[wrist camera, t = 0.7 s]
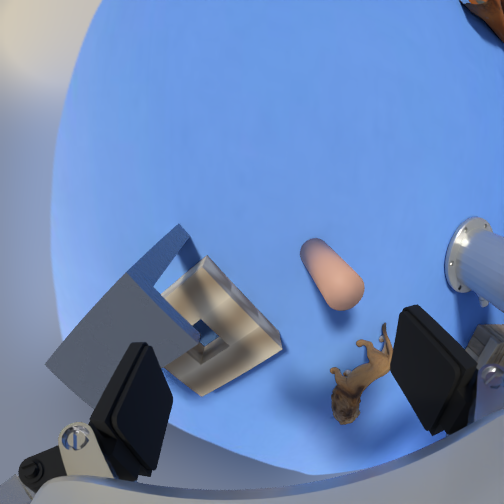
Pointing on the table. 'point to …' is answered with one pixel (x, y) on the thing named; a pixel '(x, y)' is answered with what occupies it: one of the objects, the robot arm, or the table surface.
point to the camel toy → (490, 14)
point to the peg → (332, 275)
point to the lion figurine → (359, 379)
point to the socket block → (219, 329)
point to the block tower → (487, 345)
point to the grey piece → (125, 325)
